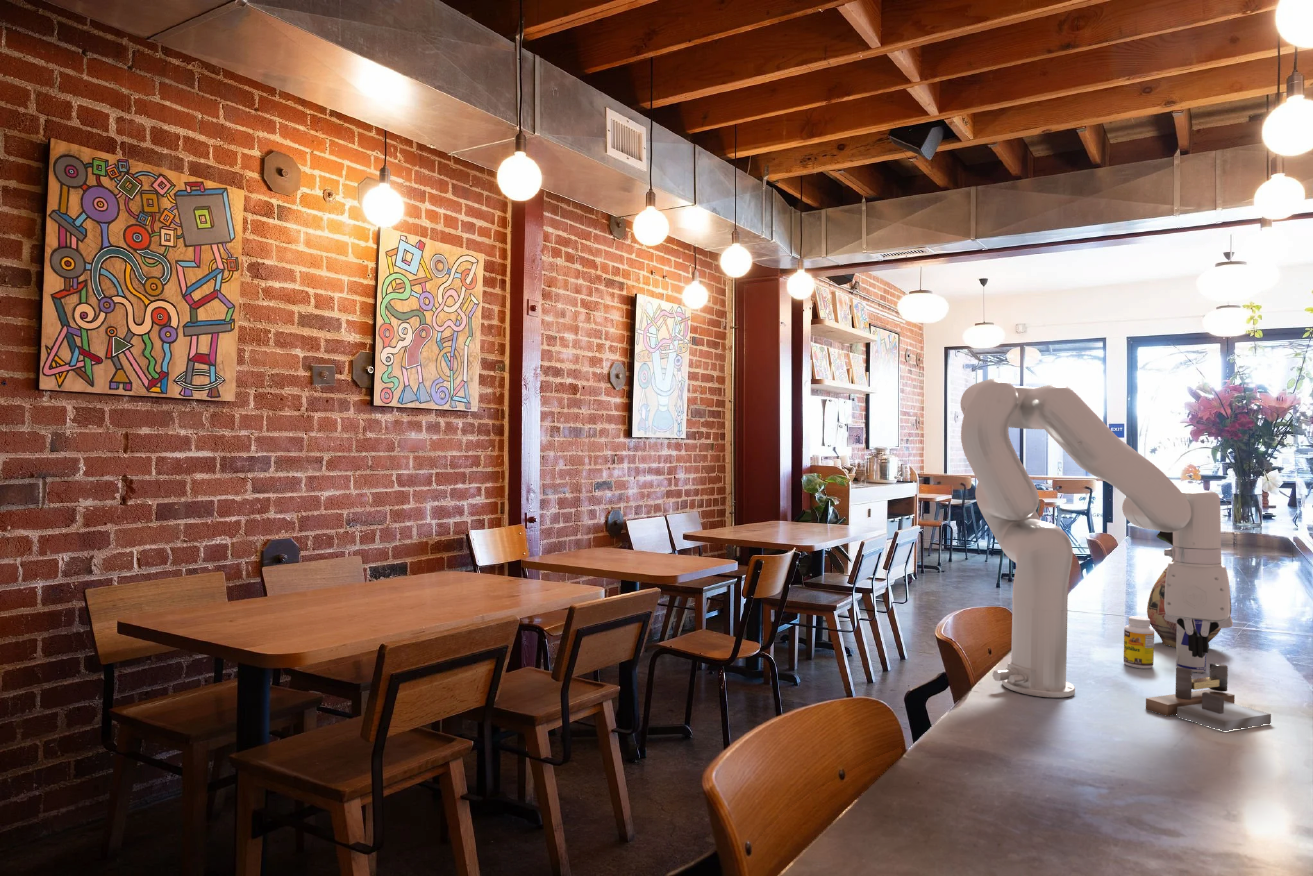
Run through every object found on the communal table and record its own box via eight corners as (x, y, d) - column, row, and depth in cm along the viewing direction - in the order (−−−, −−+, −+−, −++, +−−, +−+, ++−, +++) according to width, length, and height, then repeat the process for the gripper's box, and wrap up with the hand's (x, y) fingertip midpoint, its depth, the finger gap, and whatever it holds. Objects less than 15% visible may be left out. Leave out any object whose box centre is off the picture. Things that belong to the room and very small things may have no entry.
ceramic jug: (1131, 641, 204) (1134, 517, 204) (1172, 636, 210) (1175, 516, 211) (1202, 658, 188) (1204, 524, 189) (1244, 652, 195) (1247, 523, 195)
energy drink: (1204, 674, 173) (1205, 616, 174) (1174, 670, 177) (1175, 612, 177) (1207, 669, 178) (1208, 612, 178) (1177, 665, 181) (1178, 609, 181)
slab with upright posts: (1220, 733, 136) (1221, 689, 136) (1145, 709, 148) (1146, 669, 148) (1288, 721, 143) (1289, 680, 143) (1212, 699, 155) (1212, 661, 155)
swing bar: (1196, 695, 148) (1197, 670, 148) (1181, 691, 151) (1181, 666, 151) (1230, 690, 152) (1231, 666, 152) (1215, 686, 155) (1215, 662, 155)
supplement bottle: (1117, 663, 181) (1118, 615, 181) (1137, 662, 183) (1138, 614, 183) (1139, 670, 176) (1140, 621, 176) (1159, 668, 178) (1160, 620, 178)
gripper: (1146, 555, 158) (1148, 653, 158) (1242, 562, 149) (1244, 666, 148) (1155, 552, 164) (1156, 646, 164) (1248, 558, 154) (1250, 658, 154)
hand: (1198, 655), depth 156 cm, fingers closed
